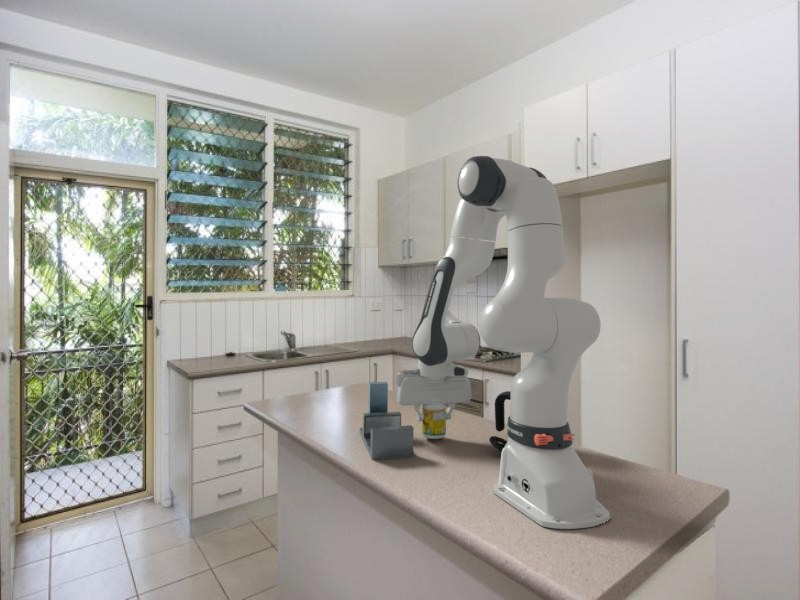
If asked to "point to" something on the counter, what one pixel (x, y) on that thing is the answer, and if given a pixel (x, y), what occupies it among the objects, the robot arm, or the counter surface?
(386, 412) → the sliding jaw
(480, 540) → the counter surface
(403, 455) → the vise base
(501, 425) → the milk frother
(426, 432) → the supplement bottle
